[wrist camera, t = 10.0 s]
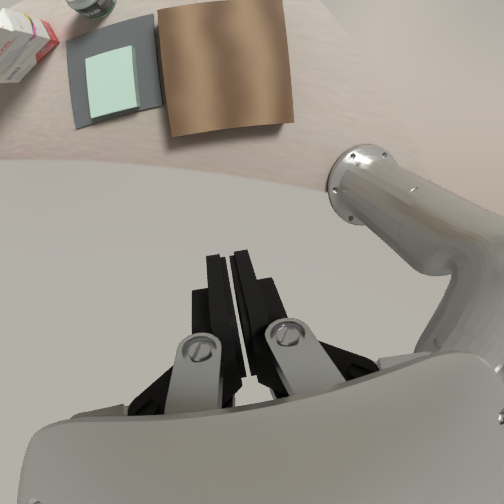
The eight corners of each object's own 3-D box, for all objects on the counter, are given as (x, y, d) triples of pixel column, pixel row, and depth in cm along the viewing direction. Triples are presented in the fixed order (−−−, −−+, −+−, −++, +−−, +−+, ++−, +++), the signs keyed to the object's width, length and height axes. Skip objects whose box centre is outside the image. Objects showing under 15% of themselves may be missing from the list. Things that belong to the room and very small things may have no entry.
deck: (273, 8, 26) (282, -1, 23) (284, 120, 34) (294, 122, 31) (161, 19, 25) (157, 10, 21) (175, 134, 33) (171, 137, 29)
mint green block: (85, 58, 23) (90, 60, 25) (91, 118, 27) (96, 117, 29) (131, 45, 24) (135, 48, 26) (136, 106, 28) (140, 106, 30)
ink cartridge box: (49, 21, 20) (-11, 0, 8) (60, 42, 23) (-1, 25, 10) (7, 62, 21) (-58, 62, 8) (18, 84, 24) (-50, 90, 11)
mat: (153, 14, 24) (152, 13, 24) (162, 105, 31) (162, 105, 30) (67, 41, 23) (66, 41, 23) (77, 128, 30) (75, 129, 29)
